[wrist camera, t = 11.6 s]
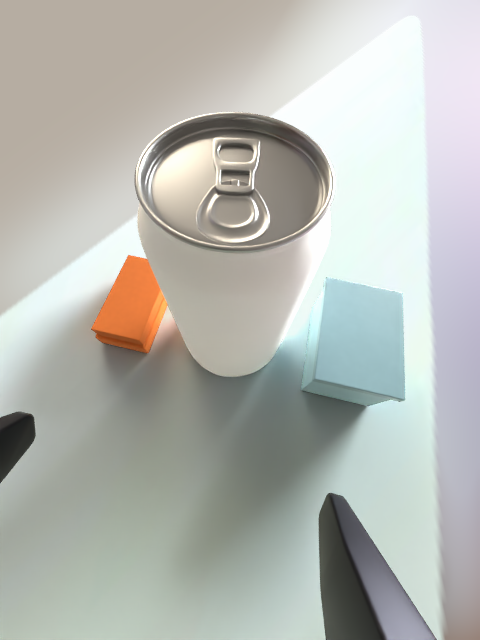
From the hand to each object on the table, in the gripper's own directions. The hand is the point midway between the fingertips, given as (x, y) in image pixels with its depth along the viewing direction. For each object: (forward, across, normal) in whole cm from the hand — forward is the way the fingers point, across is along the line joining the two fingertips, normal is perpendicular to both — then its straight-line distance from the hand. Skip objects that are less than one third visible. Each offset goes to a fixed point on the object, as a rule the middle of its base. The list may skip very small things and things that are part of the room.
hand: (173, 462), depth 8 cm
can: (+11, 0, 0) cm, 11 cm away
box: (+11, -7, 0) cm, 13 cm away
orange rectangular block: (+11, +7, 0) cm, 13 cm away
